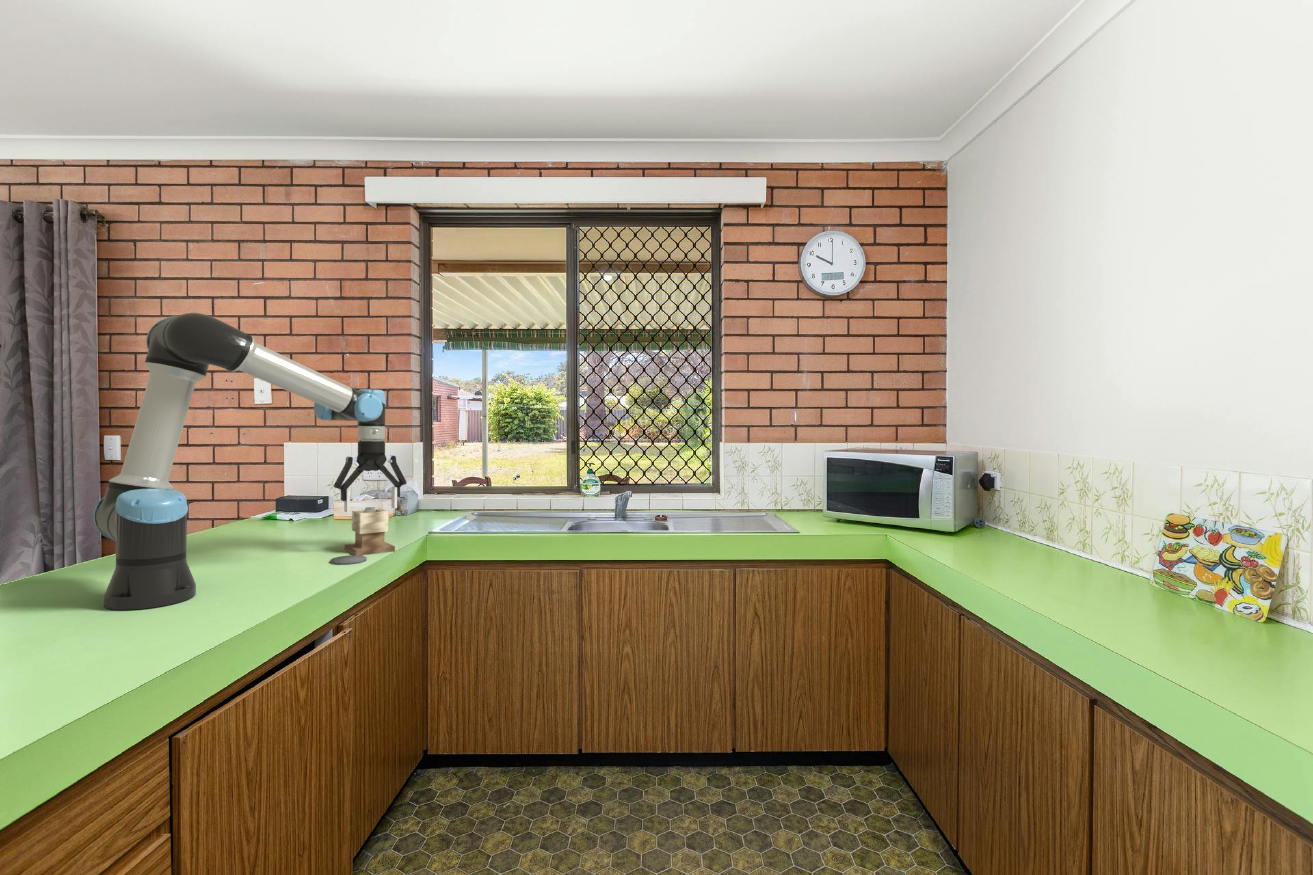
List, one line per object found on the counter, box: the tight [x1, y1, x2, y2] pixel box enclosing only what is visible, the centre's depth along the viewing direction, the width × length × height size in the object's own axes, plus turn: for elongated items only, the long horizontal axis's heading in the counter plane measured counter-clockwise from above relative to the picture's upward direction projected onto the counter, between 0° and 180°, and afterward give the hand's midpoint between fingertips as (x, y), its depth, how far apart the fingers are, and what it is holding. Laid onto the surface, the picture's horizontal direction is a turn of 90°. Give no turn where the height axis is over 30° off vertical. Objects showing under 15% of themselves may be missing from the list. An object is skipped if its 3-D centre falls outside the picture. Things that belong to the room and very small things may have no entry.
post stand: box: [344, 506, 396, 556], centre depth 182 cm, size 11×11×13 cm
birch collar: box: [351, 508, 389, 534], centre depth 182 cm, size 8×8×6 cm
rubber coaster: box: [330, 554, 368, 566], centre depth 168 cm, size 9×9×1 cm
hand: (371, 509), depth 182 cm, fingers open, 13 cm apart
